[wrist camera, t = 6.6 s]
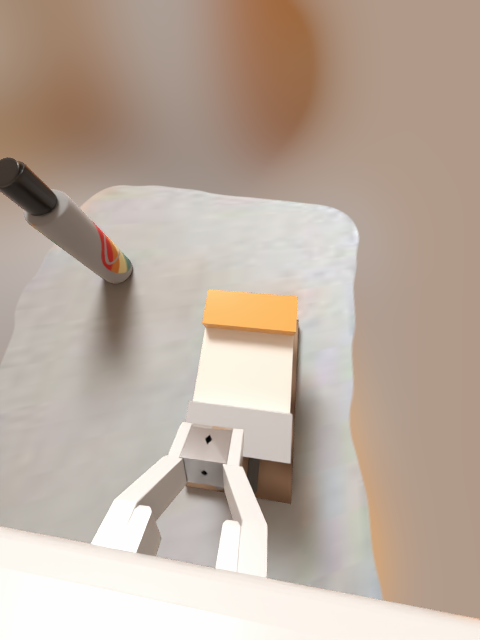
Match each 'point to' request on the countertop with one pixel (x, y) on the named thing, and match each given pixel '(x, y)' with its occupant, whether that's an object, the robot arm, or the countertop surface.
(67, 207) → the lotion bottle
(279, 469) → the mounting board
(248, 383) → the block
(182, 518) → the countertop surface
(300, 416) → the countertop surface
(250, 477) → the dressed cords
